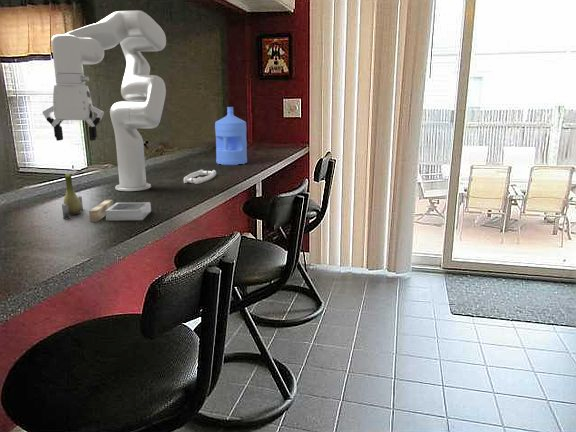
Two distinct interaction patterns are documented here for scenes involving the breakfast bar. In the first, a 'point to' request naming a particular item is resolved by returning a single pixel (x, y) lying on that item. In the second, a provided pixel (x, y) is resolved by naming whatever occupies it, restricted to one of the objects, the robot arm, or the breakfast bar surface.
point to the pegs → (66, 209)
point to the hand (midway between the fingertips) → (76, 140)
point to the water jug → (231, 140)
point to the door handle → (199, 180)
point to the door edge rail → (99, 210)
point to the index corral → (128, 211)
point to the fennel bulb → (71, 197)
